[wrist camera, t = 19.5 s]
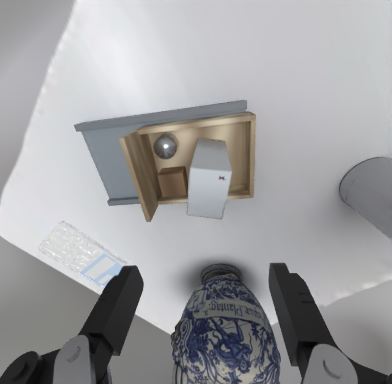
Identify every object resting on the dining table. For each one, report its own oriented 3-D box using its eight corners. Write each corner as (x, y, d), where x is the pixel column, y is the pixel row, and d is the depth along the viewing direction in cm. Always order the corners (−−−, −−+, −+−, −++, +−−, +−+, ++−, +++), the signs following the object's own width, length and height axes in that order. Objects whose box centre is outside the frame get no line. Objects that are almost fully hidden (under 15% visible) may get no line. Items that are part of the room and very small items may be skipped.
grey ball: (175, 131, 27) (172, 135, 25) (180, 151, 29) (178, 157, 26) (155, 135, 28) (150, 139, 25) (161, 154, 29) (157, 161, 27)
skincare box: (197, 137, 27) (189, 165, 17) (225, 140, 27) (234, 170, 17) (194, 173, 30) (185, 216, 20) (219, 176, 30) (223, 220, 20)
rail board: (244, 100, 26) (246, 100, 24) (244, 189, 33) (246, 195, 32) (82, 122, 30) (73, 124, 28) (114, 199, 37) (109, 205, 35)
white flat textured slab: (64, 218, 41) (58, 223, 39) (133, 264, 47) (130, 271, 46) (41, 244, 46) (34, 250, 44) (106, 283, 52) (102, 289, 51)
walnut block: (185, 165, 30) (182, 173, 27) (188, 187, 32) (186, 195, 29) (161, 168, 30) (157, 175, 28) (166, 188, 32) (163, 197, 30)
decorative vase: (276, 261, 42) (362, 498, 18) (249, 303, 51) (281, 494, 27) (187, 243, 41) (150, 462, 17) (176, 289, 51) (142, 471, 27)
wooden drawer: (249, 111, 26) (265, 120, 18) (248, 185, 32) (260, 215, 24) (143, 125, 28) (118, 138, 20) (160, 192, 34) (146, 221, 26)
